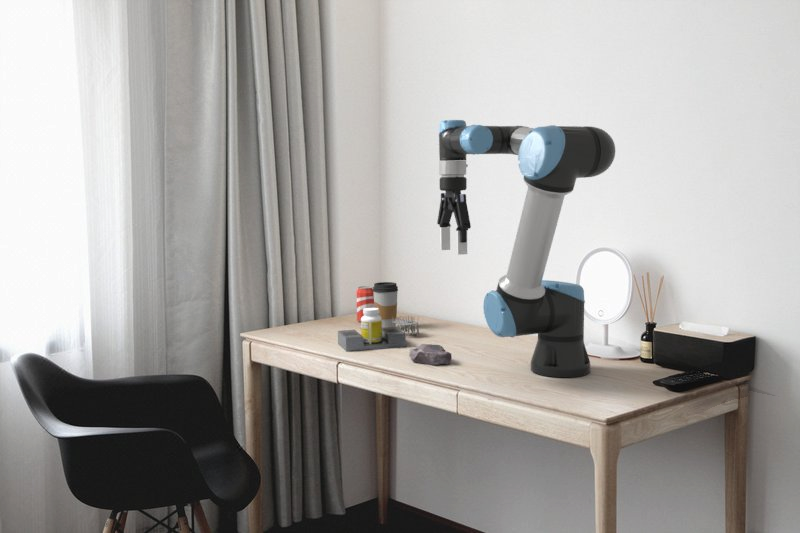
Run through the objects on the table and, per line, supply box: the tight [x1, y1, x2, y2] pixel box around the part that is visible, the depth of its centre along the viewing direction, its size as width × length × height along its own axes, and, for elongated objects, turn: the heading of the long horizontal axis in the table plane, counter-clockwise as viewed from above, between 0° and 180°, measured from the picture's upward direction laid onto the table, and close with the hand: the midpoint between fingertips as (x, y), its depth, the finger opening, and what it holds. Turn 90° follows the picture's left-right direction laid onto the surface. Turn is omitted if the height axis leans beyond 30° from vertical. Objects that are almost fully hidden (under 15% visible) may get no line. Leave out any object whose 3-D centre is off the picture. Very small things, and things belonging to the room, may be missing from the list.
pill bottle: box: [360, 308, 382, 345], centre depth 248 cm, size 6×6×11 cm
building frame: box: [393, 315, 420, 338], centre depth 261 cm, size 6×8×6 cm
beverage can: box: [356, 285, 375, 323], centre depth 286 cm, size 6×6×12 cm
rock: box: [408, 343, 453, 366], centre depth 226 cm, size 8×11×5 cm
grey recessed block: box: [337, 326, 407, 352], centre depth 248 cm, size 11×18×4 cm, turn 107°
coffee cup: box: [372, 281, 399, 328], centre depth 272 cm, size 8×8×15 cm
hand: (453, 252), depth 234 cm, fingers open, 13 cm apart
